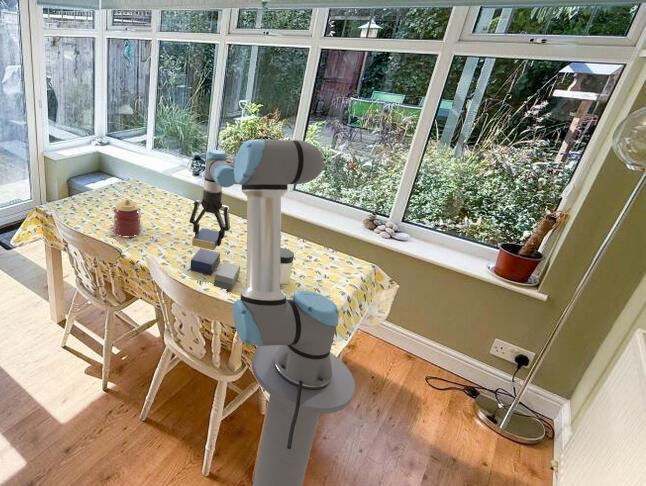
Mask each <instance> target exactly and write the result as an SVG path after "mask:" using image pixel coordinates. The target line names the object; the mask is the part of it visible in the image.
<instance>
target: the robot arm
mask: <svg viewBox="0 0 646 486" xmlns="http://www.w3.org/2000/svg"><path fill="white" fill-rule="evenodd" d="M227 156H228V155H227V152H226V151H224V150H219V149H211V150H209V151H207V153H206V158H205V168H204V178H203V190H202V199H201V200H199V199H195V201H194V202H193V203H194V204H193V209H192V212H191V215H190V218H189V221H188V222H189V224H192V225H193V227H192V232H193V233H194V236H195V235H196V234H197V233H198V232H199V231H200V225H201V224H200V223H199V222H200V221H201V219H202V218H203V217H204V215H205V214H206V213H207V214H209V213H210V214H213V215H214V217H215V218H216V221H217V223H218V226H219V230H218V231H219V236H218V245H217V247H220V246H221V245H222V240H223V239H224V238H225V236H226V232H229V231H230V229H231V223H230V222H231V221H230V214H229V210H230V205H225V204H223V194H224V193H223V191H224V188H230V187H233V186H234V185H240V186H241V193H243V194H244V195H245V196H246V198H247V202H246V204H247V205H246V283H245V284H246V286H245V288H243V289H242V290H241V291H240V299H237V300H234V302H233V304H232V319H233V324H234V328H235V330H236V334H237V335H238V338H239V339H240V341H241V342H242V343H243V344H245V345H246V346H251V347H252V346H254V347H258V346H271V345H281V346H280V348H279V349H278V351H277V352H276V354H275V358H274V366H275V369H276V371H277V372H278V374H279V375H280V376H281V377H282V378H283V379H284V380H286V381H287V382H289V383H290V384H292V385H294V386H297V387H298V393H297V401H296V408H295V412H294V416H293V420H292V423H291V427H290V432H289V438H288V444H287V448H288V449H291V445H292V439H293V433H294V428H295V424H296V420H297V417H298V413H299V407H300V399H301V391H302V388H303V389H308V390H319V389H323V388H325V387H327V386H328V385H329V384H330V382H331V378H332V366H331V360H330V352H331V349H332V347H333V346H332V345H333V342H334V338H335V334H336V330H337V326H338V325H339V317H340V311H339V308H338V306H337V304H335V302H333V301H332V300H331V299H330V298H328V297H327V296H325V295H323V294H321V293H319V292H316V291H312V290H307V289H300V290H297V291H296V292H294V294H293V295H292V299H287V294H286V293H285V292H284V291H283V290H282V289H281V284H280V260H281V248H282V245H281V244H282V198H283V196H284V195H285V194H287V193H288V189H289V187H288V186H289V185H301V184H302V185H303V184H306V183H310V182H312V181H314V180H315V179H316V178H318V177H319V176H320V175H321V174H322V171H323V169H324V165H325V164H324V163H325V161H324V156H323V154H322V152H321V151H320V149H319V148H318V147H316V146H315V145H314V144H312V143H311V142H308V141H304V140H299V139H293V140H289V139H268V138H267V139H266V138H264V139H263V138H260V139H249V140H246V141H244V142H243V143H242V144H241V145H240V147H239V149H238V151H237V153H236V156H235V160H234V162H227V161H228V157H227ZM200 206H202V210H201V212H200V213H199V215H198V216H197V213H198V210H199V207H200ZM221 209H222V212H223V217H222V215H221ZM196 216H197V217H196ZM223 219H224V220H223Z"/></svg>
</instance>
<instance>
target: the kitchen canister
mask: <svg viewBox="0 0 646 486" xmlns="http://www.w3.org/2000/svg"><path fill="white" fill-rule="evenodd" d="M141 211H142V210H141V208H140V205H139V204H138V203H137V202H136V201H134V200H130V199H129V198H125V200H121V201H119V202H118V203H116V204H115V208H114V209H113V213H114V215H113V232H114V234H115V233H116V234H118V235H121V236H134V235H137V234H138V233H140V234H141V229H142V228H141V219H142V218H141ZM116 234H115V235H116ZM137 236H138V235H137Z"/></svg>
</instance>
